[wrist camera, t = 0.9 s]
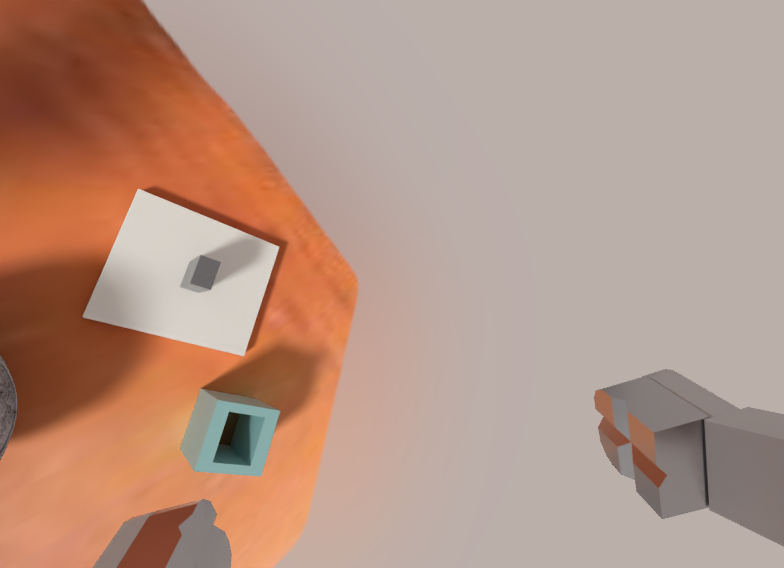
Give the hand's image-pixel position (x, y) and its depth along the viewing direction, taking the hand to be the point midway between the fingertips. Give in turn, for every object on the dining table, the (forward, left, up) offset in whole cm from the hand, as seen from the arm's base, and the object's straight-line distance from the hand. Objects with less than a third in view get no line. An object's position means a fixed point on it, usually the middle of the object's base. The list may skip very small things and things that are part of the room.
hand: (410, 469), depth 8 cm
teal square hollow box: (+11, -4, -44) cm, 45 cm away
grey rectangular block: (-1, +8, -42) cm, 43 cm away
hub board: (-1, +8, -44) cm, 45 cm away
